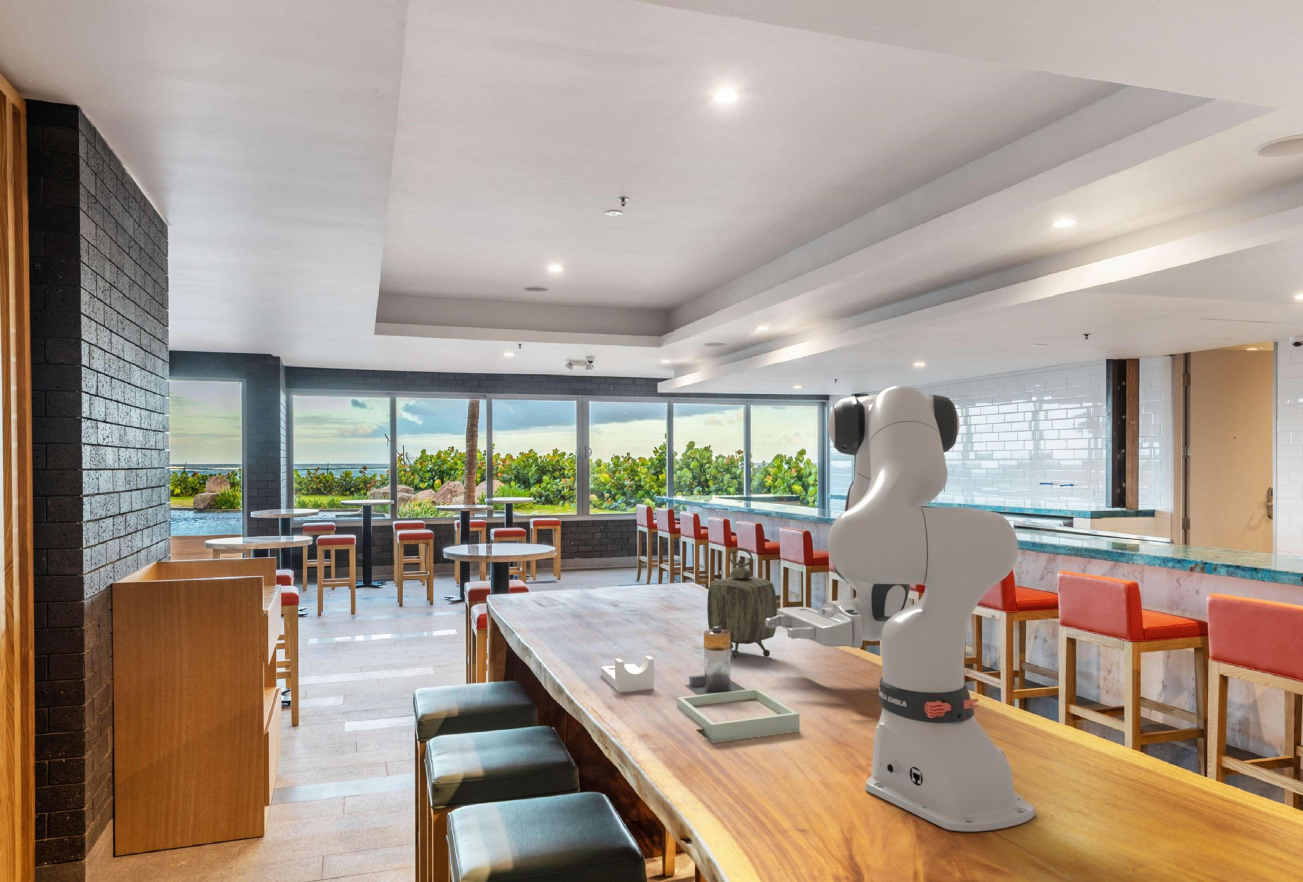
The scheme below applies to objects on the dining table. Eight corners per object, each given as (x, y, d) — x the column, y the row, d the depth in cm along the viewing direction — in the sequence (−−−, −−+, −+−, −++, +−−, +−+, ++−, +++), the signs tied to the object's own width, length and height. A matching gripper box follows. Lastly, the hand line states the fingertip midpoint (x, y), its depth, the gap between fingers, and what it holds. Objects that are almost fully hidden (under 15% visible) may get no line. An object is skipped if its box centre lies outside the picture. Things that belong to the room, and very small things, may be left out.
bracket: (654, 697, 158) (653, 658, 158) (619, 701, 156) (618, 662, 156) (633, 680, 170) (633, 644, 171) (601, 683, 168) (600, 647, 168)
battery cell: (735, 691, 156) (734, 628, 156) (710, 694, 154) (709, 630, 154) (724, 684, 160) (723, 623, 161) (700, 687, 159) (699, 625, 159)
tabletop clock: (777, 656, 188) (776, 548, 188) (754, 664, 181) (752, 552, 182) (728, 647, 198) (726, 544, 198) (704, 654, 191) (703, 547, 192)
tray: (799, 731, 137) (799, 713, 137) (712, 743, 132) (711, 724, 132) (757, 704, 152) (757, 688, 152) (677, 714, 147) (677, 697, 147)
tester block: (752, 701, 154) (752, 684, 154) (703, 707, 151) (703, 689, 151) (730, 687, 164) (730, 671, 164) (684, 692, 160) (684, 676, 160)
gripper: (812, 598, 176) (754, 602, 172) (866, 616, 157) (802, 622, 153) (812, 627, 176) (754, 632, 172) (866, 649, 157) (803, 656, 153)
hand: (777, 628), depth 162 cm, fingers open, 8 cm apart
